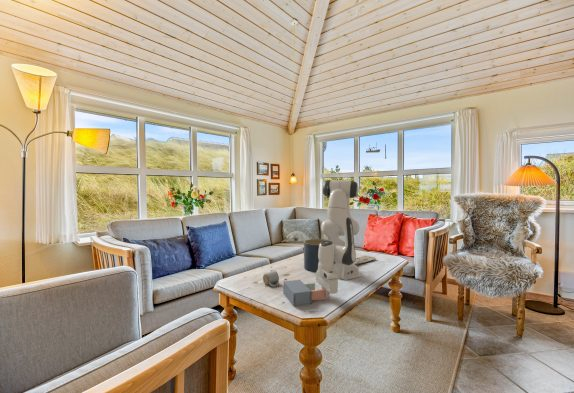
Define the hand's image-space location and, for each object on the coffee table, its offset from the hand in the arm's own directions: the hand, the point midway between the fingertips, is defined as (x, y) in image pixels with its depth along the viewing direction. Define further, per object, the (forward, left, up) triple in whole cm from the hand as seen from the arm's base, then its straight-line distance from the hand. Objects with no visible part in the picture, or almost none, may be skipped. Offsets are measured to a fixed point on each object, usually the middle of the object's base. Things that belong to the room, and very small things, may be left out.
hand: (325, 295), depth 152 cm
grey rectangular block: (+15, -6, -2) cm, 16 cm away
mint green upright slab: (+9, -11, -1) cm, 14 cm away
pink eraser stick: (+5, 0, -1) cm, 5 cm away
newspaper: (-57, -56, -3) cm, 80 cm away
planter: (-19, -52, -2) cm, 55 cm away
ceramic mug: (+23, -31, -2) cm, 38 cm away
